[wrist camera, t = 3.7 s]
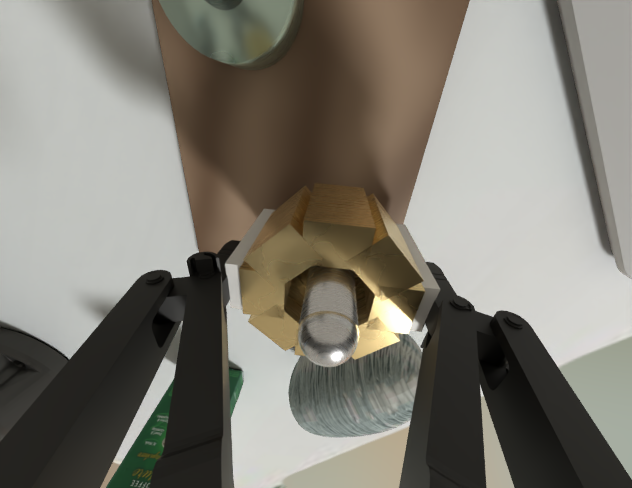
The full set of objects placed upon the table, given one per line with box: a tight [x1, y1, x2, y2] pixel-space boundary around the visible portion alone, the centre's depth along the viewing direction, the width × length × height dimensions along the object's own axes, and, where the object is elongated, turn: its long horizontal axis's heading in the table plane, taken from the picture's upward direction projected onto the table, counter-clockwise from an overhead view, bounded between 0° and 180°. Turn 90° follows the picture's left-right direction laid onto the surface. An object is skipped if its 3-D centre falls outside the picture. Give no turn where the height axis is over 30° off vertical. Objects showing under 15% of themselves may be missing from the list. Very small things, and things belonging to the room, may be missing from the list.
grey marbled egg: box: [289, 333, 422, 437], centre depth 24 cm, size 14×10×10 cm
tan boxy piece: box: [239, 183, 425, 360], centre depth 13 cm, size 8×8×5 cm
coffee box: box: [106, 368, 244, 488], centre depth 26 cm, size 8×3×13 cm, turn 85°
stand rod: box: [298, 191, 359, 367], centre depth 13 cm, size 6×6×11 cm
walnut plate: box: [152, 0, 470, 254], centre depth 16 cm, size 16×24×2 cm, turn 175°
